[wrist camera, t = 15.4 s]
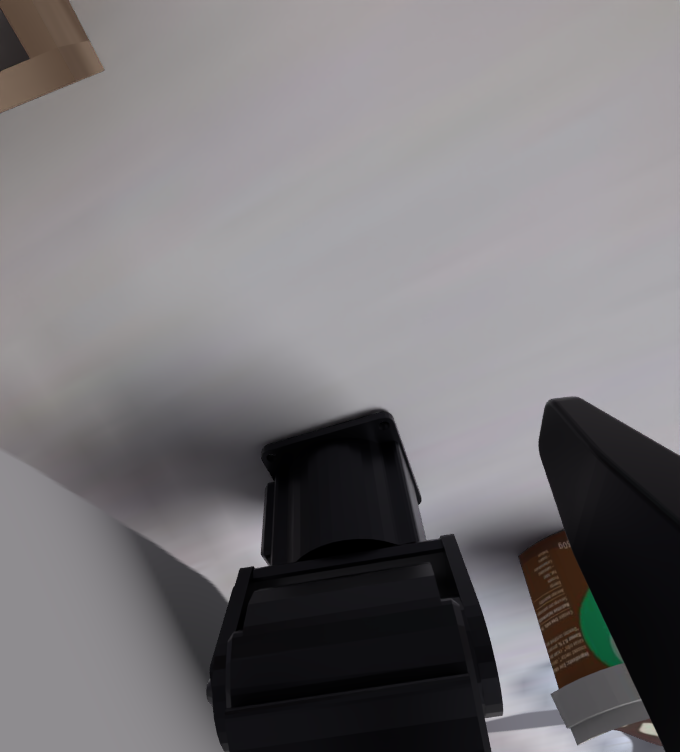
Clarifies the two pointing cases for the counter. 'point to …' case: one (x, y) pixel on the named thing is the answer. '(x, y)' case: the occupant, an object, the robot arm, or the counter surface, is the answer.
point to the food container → (581, 648)
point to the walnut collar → (45, 50)
